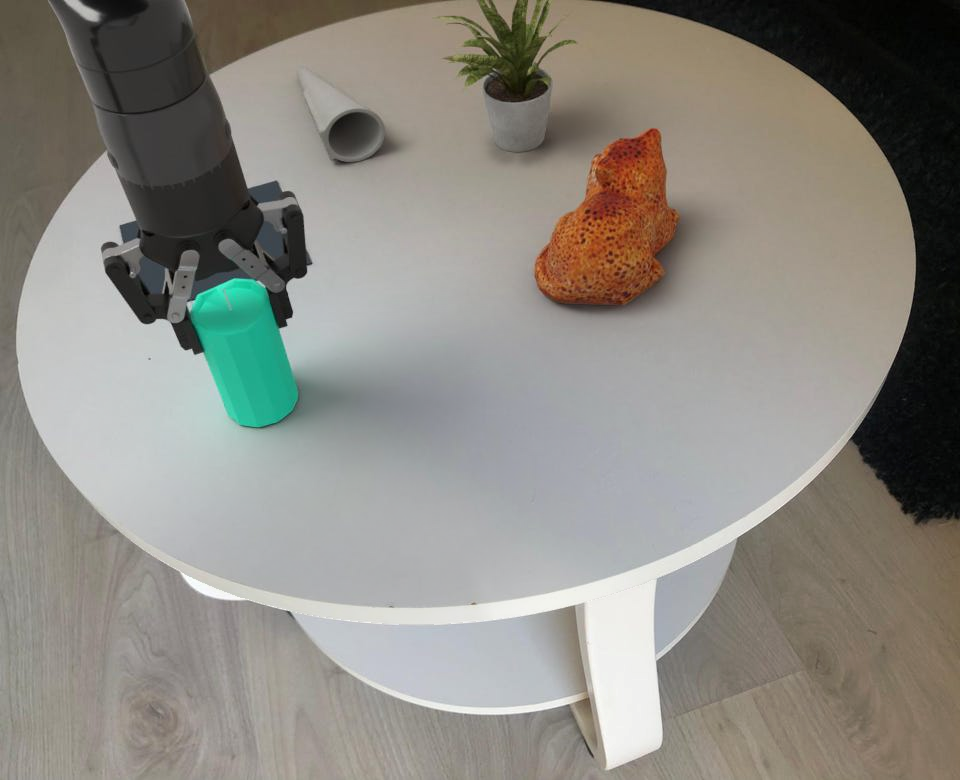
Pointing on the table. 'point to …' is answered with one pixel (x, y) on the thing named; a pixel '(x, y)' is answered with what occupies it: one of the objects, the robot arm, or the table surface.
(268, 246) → the mat
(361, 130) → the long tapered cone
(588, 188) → the figurine
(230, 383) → the candle
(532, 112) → the house plant
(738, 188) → the table surface
